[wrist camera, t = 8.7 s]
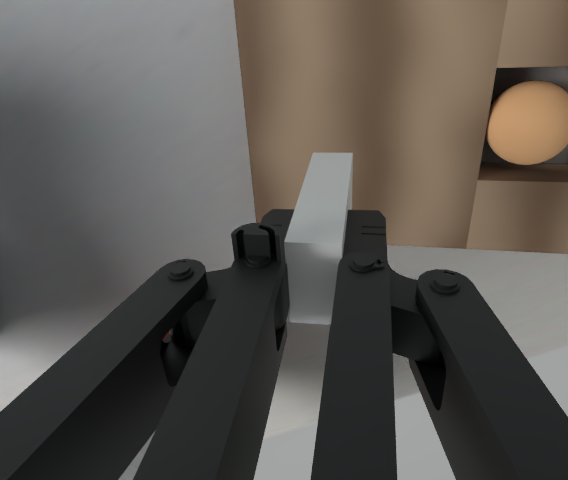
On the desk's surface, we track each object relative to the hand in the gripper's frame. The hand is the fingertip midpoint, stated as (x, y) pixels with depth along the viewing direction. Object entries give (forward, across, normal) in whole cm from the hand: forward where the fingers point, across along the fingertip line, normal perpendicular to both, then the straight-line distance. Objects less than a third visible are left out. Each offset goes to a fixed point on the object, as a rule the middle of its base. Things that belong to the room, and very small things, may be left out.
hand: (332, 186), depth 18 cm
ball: (+8, -9, 0) cm, 12 cm away
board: (+10, -5, 0) cm, 11 cm away
